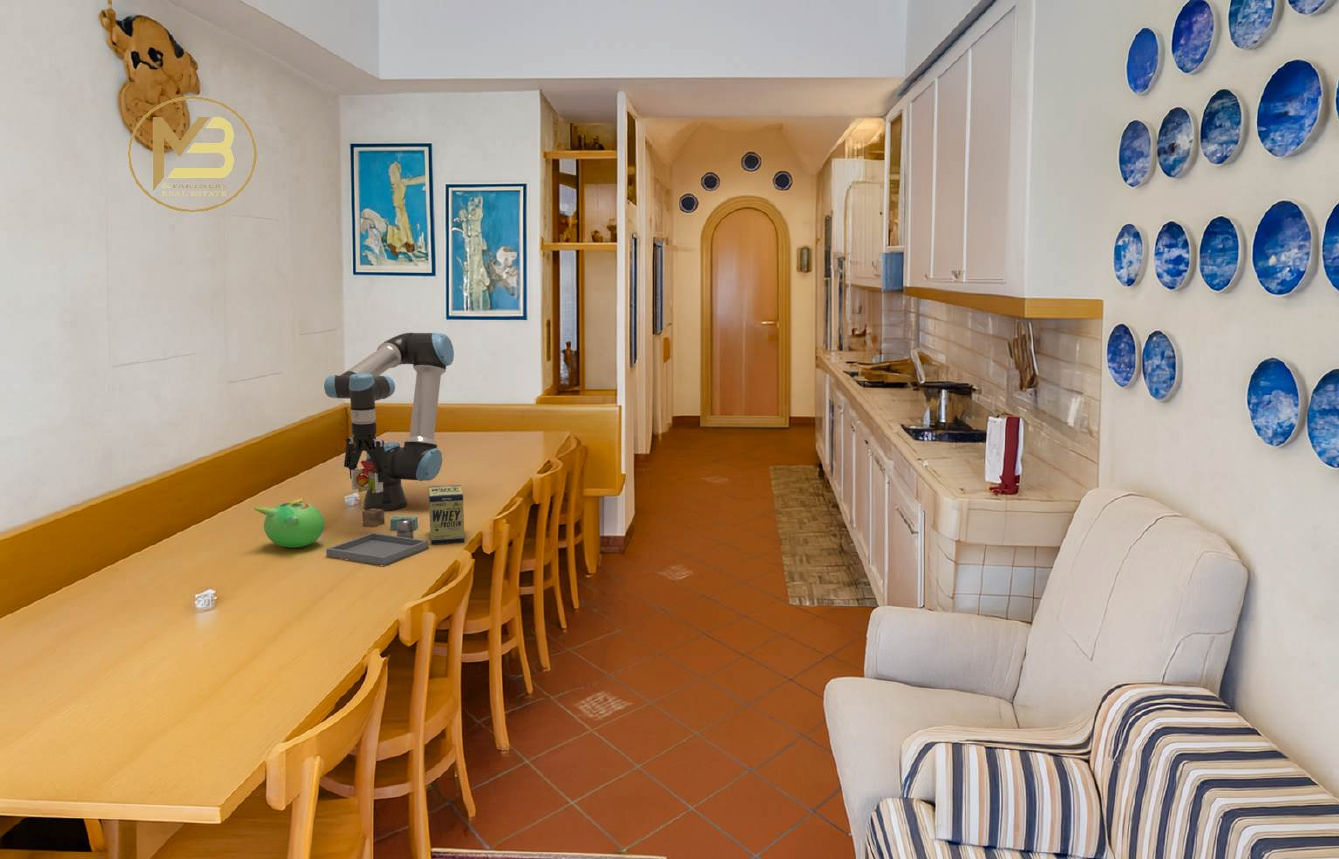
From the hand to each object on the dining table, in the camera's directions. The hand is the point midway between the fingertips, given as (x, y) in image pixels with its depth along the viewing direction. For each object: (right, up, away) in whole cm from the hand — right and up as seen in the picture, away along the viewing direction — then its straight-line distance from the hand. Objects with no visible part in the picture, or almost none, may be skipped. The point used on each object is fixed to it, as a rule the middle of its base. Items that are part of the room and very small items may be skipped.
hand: (367, 490), depth 307 cm
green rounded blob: (-18, -17, -14) cm, 28 cm away
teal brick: (+10, -14, +7) cm, 18 cm away
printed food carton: (0, -1, 0) cm, 1 cm away
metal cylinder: (+14, -15, -4) cm, 21 cm away
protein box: (+26, -15, -2) cm, 31 cm away
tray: (+10, -18, -20) cm, 28 cm away
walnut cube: (-2, -13, +13) cm, 18 cm away
